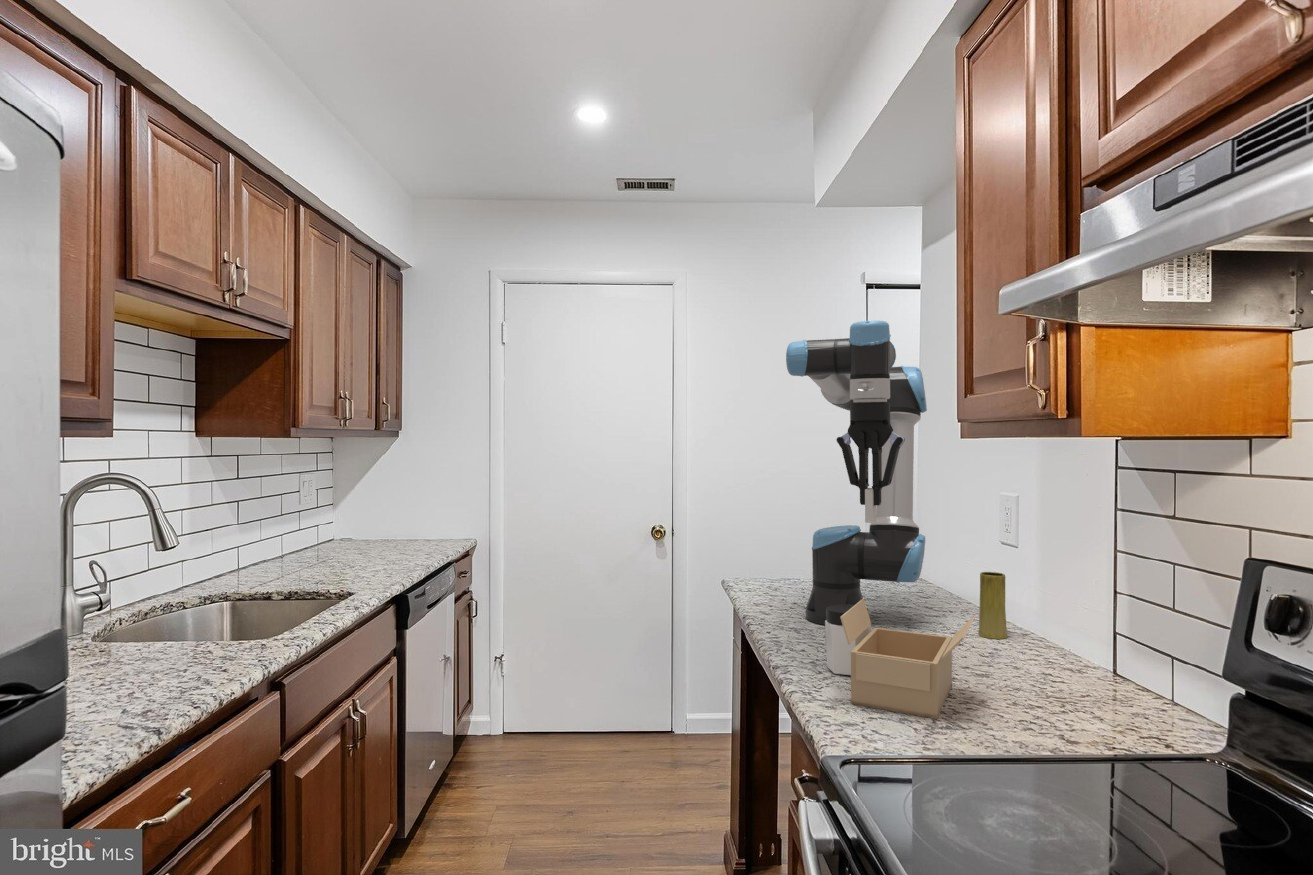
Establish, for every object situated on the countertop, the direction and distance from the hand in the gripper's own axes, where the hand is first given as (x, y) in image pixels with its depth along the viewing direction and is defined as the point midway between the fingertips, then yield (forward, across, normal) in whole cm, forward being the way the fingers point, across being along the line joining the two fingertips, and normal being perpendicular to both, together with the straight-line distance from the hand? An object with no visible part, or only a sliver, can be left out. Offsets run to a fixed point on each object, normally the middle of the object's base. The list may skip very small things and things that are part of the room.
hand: (870, 521), depth 143 cm
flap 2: (+17, +17, -10) cm, 27 cm away
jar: (+29, -4, -2) cm, 30 cm away
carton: (+29, +8, -11) cm, 32 cm away
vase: (+31, +18, +38) cm, 52 cm away
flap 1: (+17, 0, -11) cm, 20 cm away
